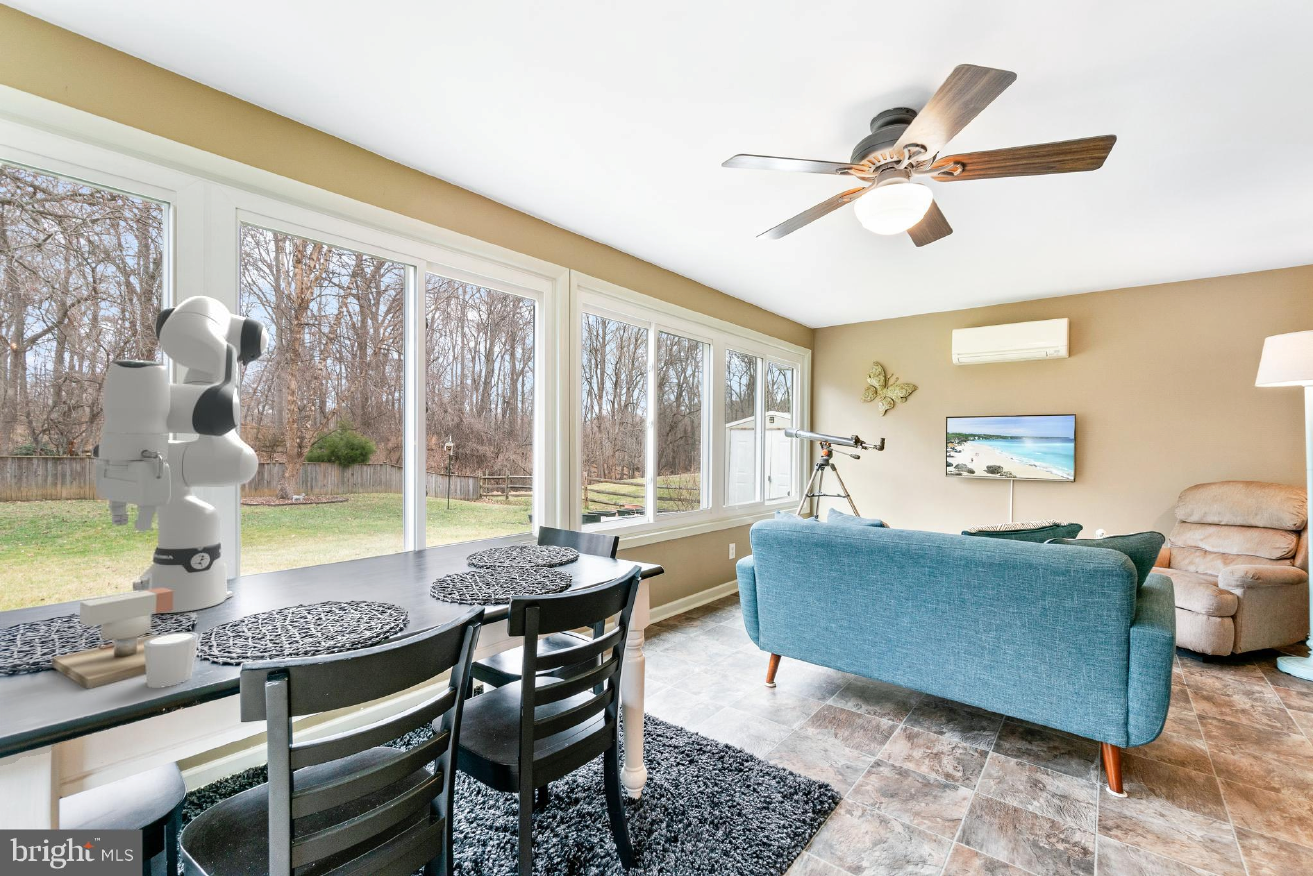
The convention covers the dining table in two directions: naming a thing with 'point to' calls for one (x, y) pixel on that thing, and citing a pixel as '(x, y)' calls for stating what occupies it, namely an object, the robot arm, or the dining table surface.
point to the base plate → (101, 664)
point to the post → (125, 647)
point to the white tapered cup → (170, 658)
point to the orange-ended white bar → (126, 612)
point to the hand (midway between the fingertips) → (131, 527)
